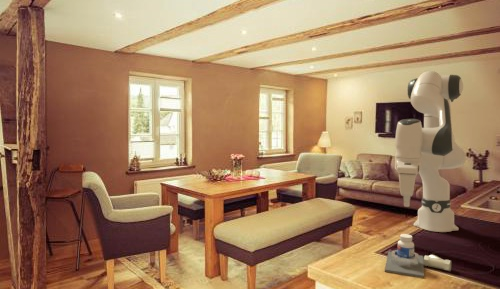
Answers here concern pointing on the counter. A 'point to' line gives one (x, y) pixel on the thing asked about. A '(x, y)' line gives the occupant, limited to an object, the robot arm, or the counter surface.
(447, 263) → the pipe fitting
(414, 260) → the steel collar
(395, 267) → the mat
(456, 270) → the counter surface
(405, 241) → the pill bottle
